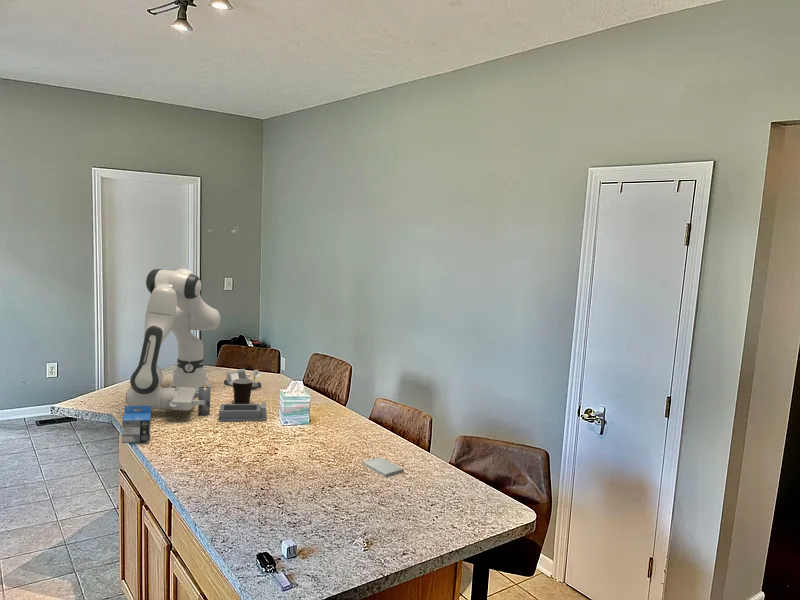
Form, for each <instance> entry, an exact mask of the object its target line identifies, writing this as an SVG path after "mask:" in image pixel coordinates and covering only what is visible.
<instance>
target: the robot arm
mask: <svg viewBox="0 0 800 600" xmlns="http://www.w3.org/2000/svg"><path fill="white" fill-rule="evenodd" d="M145 285H146V288H147V291H148V292H149V293H150V295H149V300H148V303H147V306H146V310H145V318H144V337H143V343H142V348H141V353H140V359H139V363H138V365H137V367H136V369H135V370H134V372H133V373H132V375H131V376H130V380H129V381H130V382H129V383H130V387H129V388H128V389H127V390H126V393H125V400H126V404H127V406H151V411H152V410H159V411H190V410H192V408H193V407H198V405H204V404H205V400H199V387H202V386H203V385H207V386H208V387H211V383H210V382H209V379H208V377H207V372H208V371H207V370H206V369H205V367H204V366H205V360H204V359H205V358H204V342H203V340H201V339H200V338H199V337H197V336H195V335H194V334H193V332H192V331H212V330H213V331H214V330H216V329H217V328H218V327H219V326H220V323H221V314H220V311H218V309H216V308H214V307H212V306H210V305H209V304H207V303H206V302H205V301H204V300H203V298H202V296H201V291H202V281H201V278H200V277H199V276H198V275H196V274H194V272H193V271H191V270H190V269H188V268H185V267H183V268H178V269H177V270H176V269H175V270H169V269H162V268H154V269H152V270H151V271H150V272H149V273H148V274H147V275H146V279H145ZM171 332H172V333H173V335H174V336H175V338H176V340H177V351H178V352H177V354H178V357H177V359H176V368H175V369H174V370H173V374H172V383H170V384H169V385H168V387H162V386H161V384H162V381H163V379H164V378H163V377H164V373H163V371H162V368H161V367H159V366H158V360H159V356H160V351H161V347H162V345H163V342H164V340H165V339H166V337H167V336H168V335H169V334H170V333H171ZM211 388H212V387H211ZM196 399H198V400H196ZM136 411H142V409H139V408H137V409H136Z"/></svg>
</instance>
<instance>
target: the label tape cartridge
mask: <svg viewBox="0 0 800 600" xmlns="http://www.w3.org/2000/svg"><path fill="white" fill-rule="evenodd" d="M137 408H139V409H142V410H137ZM151 419H152V410H151V406H128V405H125V406H124V414H123V417H122V425H121V427H122V428H121V444H137V443H138V444H139V443H143V444H144V443H150V441H151V423H152V422H151V421H152V420H151Z"/></svg>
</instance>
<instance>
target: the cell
mask: <svg viewBox="0 0 800 600" xmlns="http://www.w3.org/2000/svg"><path fill="white" fill-rule="evenodd" d="M211 389H212V387H208V386H207V385H203V386H202V387H199V391H198V392H199V397H198V400H205V404H204V405H198V406H197V407H198V408H197V415H198V416H199V417H200V416H201V417H207V416H210V414H211V393H212V391H211Z"/></svg>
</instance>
